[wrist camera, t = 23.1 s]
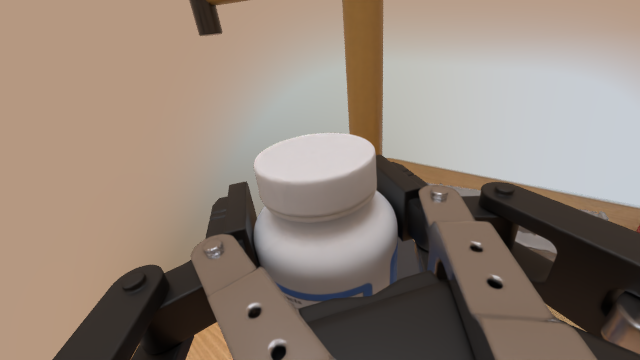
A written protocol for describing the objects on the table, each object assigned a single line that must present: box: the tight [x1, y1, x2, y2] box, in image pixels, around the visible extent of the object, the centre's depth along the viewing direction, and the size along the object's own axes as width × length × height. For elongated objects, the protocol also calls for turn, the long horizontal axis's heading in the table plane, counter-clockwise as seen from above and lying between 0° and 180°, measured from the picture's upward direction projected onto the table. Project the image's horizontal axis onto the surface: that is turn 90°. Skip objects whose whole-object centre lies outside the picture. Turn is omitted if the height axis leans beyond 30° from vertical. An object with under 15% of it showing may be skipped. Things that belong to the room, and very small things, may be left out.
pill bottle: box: [253, 133, 398, 313], centre depth 11 cm, size 6×5×10 cm
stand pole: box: [342, 0, 383, 155], centre depth 27 cm, size 3×3×27 cm
